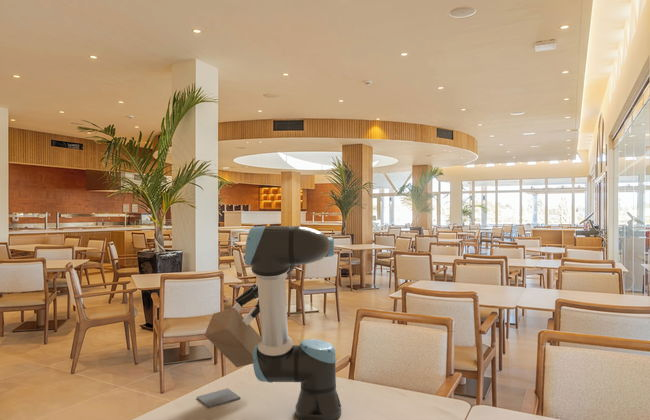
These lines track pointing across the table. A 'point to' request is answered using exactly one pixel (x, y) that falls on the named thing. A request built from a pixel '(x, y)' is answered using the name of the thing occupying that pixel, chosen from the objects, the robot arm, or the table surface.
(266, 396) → the table surface
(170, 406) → the table surface
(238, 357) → the wooden block
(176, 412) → the table surface
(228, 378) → the table surface
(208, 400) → the mat
